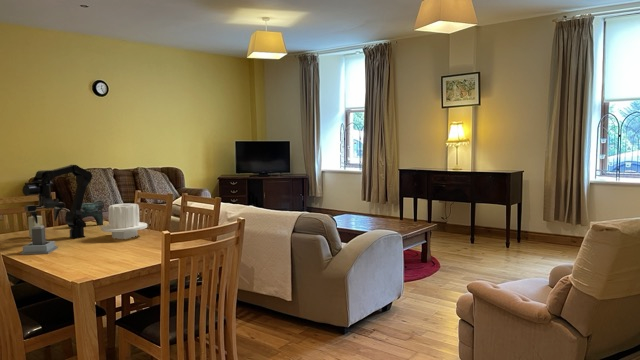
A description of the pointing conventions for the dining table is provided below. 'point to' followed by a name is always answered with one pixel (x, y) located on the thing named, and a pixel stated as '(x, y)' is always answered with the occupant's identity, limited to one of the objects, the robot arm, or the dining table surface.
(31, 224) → the skincare box
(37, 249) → the socket holder
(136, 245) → the dining table surface
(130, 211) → the ribbed cylinder on disc
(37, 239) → the dark gray plug block
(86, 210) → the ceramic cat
